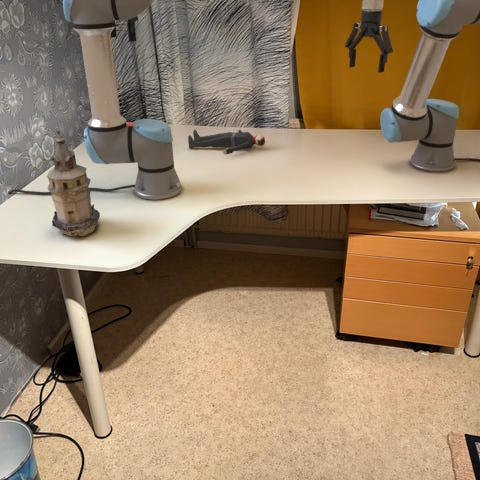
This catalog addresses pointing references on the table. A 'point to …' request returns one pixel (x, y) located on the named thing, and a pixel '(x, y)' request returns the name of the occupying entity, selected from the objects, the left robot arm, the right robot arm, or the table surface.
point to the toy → (226, 141)
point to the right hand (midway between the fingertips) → (366, 69)
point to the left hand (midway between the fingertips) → (122, 39)
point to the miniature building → (70, 193)
